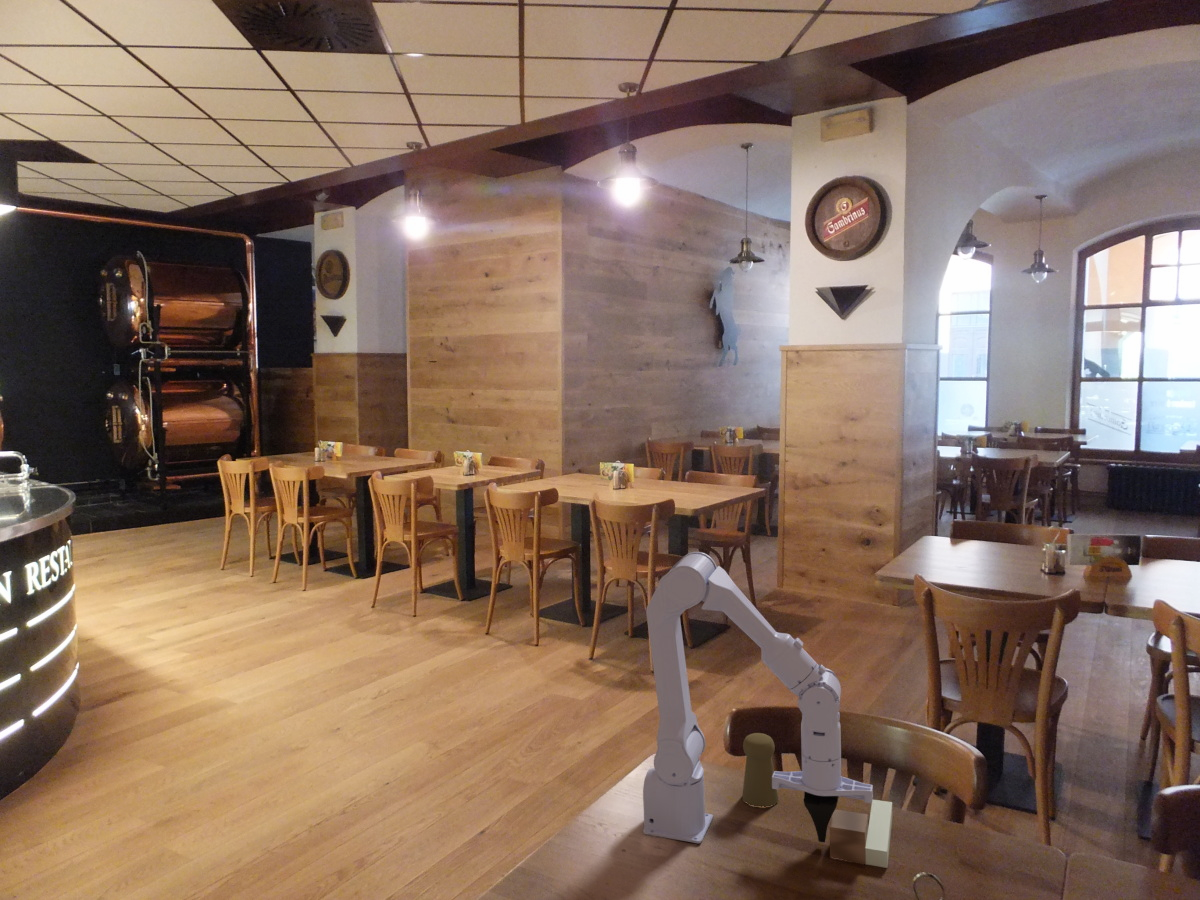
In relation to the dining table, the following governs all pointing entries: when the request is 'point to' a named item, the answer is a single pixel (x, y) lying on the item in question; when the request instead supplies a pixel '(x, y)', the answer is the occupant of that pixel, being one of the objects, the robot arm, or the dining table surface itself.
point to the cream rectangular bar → (879, 834)
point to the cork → (759, 770)
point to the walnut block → (848, 836)
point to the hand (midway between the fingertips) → (822, 838)
